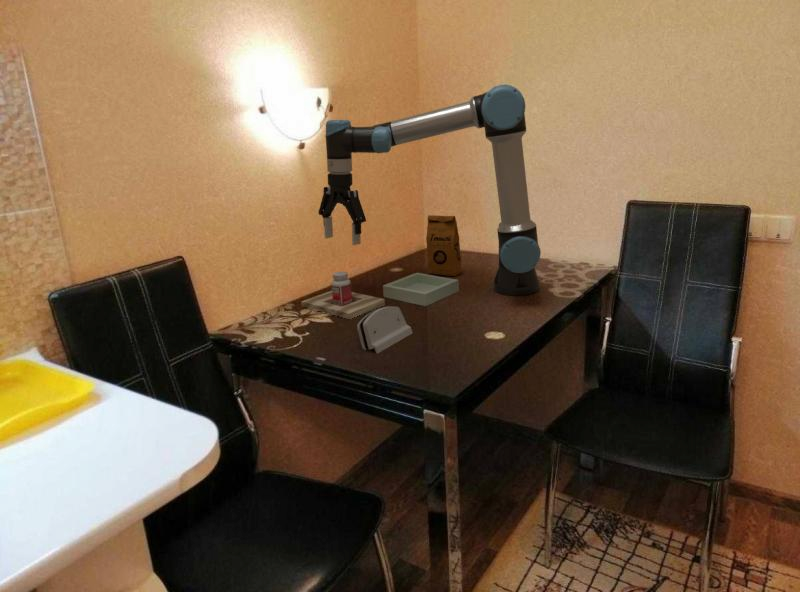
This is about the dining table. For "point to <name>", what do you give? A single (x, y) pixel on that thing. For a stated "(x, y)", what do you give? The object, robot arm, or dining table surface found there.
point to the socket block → (348, 311)
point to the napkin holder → (382, 328)
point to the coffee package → (443, 246)
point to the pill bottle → (341, 289)
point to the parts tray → (421, 289)
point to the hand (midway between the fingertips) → (342, 241)
